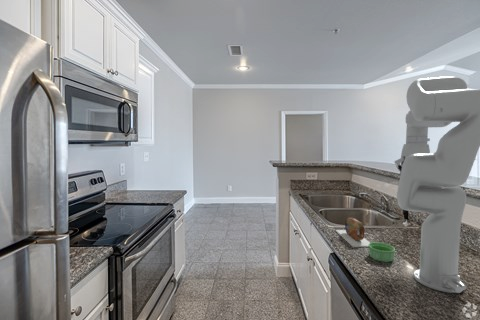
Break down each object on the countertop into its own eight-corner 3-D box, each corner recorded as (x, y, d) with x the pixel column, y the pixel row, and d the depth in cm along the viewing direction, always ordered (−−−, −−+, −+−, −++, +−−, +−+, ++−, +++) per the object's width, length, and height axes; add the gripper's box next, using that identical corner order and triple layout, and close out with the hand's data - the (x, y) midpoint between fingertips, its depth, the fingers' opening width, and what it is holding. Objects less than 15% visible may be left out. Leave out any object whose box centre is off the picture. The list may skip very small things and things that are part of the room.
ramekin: (399, 263, 94) (400, 251, 94) (374, 262, 95) (374, 251, 95) (387, 253, 103) (387, 242, 103) (364, 252, 104) (364, 241, 104)
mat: (374, 247, 109) (374, 245, 109) (353, 246, 109) (353, 245, 109) (353, 231, 129) (353, 230, 129) (335, 231, 129) (335, 230, 129)
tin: (344, 231, 126) (344, 215, 126) (350, 231, 126) (351, 215, 126) (358, 243, 111) (358, 224, 111) (365, 243, 111) (366, 224, 111)
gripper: (430, 141, 112) (428, 179, 113) (390, 140, 112) (389, 179, 113) (443, 140, 105) (441, 182, 106) (401, 140, 105) (400, 182, 106)
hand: (414, 180), depth 109 cm, fingers open, 9 cm apart
